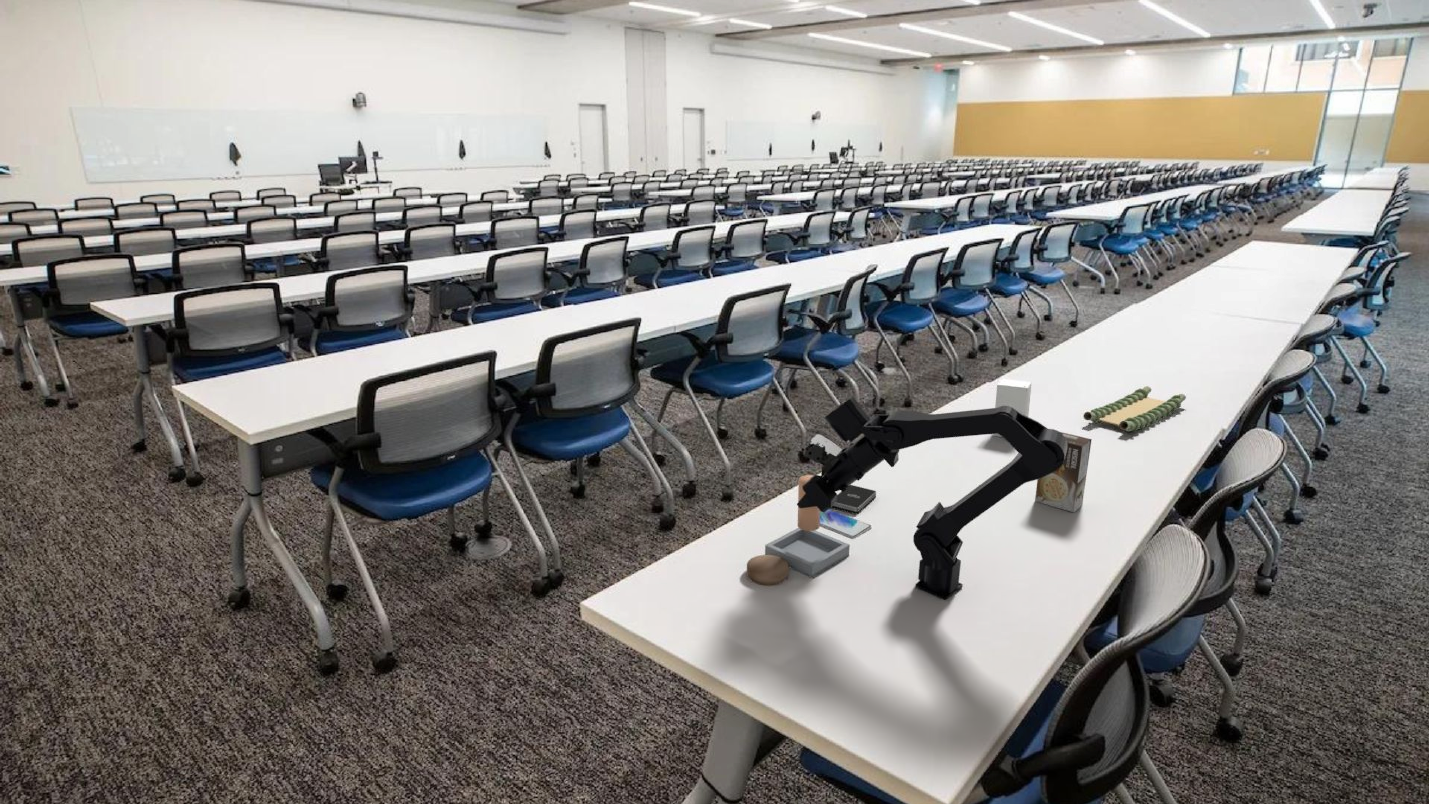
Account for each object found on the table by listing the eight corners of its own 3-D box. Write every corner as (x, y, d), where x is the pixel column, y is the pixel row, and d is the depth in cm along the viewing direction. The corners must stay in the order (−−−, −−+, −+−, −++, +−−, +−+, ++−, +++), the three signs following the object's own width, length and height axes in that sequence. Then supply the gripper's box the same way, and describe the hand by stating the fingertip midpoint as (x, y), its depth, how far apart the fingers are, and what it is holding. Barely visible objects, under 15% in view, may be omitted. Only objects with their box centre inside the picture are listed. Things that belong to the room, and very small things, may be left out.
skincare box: (1027, 434, 225) (1033, 382, 220) (1021, 441, 219) (1028, 388, 215) (996, 429, 229) (1002, 377, 224) (990, 436, 224) (996, 383, 219)
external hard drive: (876, 498, 186) (876, 491, 185) (857, 516, 177) (857, 508, 176) (849, 492, 189) (849, 484, 189) (829, 509, 181) (829, 501, 180)
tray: (849, 555, 160) (849, 544, 159) (812, 577, 152) (812, 566, 151) (802, 535, 168) (802, 525, 167) (765, 556, 160) (765, 545, 159)
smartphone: (854, 537, 166) (797, 515, 176) (853, 541, 167) (797, 518, 176) (873, 525, 171) (817, 504, 181) (872, 528, 171) (817, 507, 181)
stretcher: (1128, 440, 221) (1131, 423, 220) (1078, 426, 232) (1080, 410, 230) (1187, 409, 246) (1190, 394, 244) (1139, 398, 256) (1142, 383, 255)
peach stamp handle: (824, 527, 157) (825, 481, 153) (805, 532, 155) (806, 485, 152) (811, 519, 160) (813, 473, 157) (793, 523, 158) (794, 477, 155)
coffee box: (1083, 504, 182) (1094, 438, 177) (1073, 513, 177) (1083, 446, 172) (1043, 492, 188) (1052, 429, 183) (1033, 501, 183) (1041, 436, 178)
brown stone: (796, 574, 153) (796, 565, 152) (769, 590, 148) (769, 580, 147) (765, 559, 158) (765, 550, 158) (738, 574, 153) (738, 565, 152)
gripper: (847, 411, 157) (793, 454, 165) (814, 441, 141) (757, 487, 149) (883, 454, 156) (828, 495, 164) (855, 490, 140) (795, 533, 148)
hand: (802, 501), depth 157 cm, fingers closed on peach stamp handle, 4 cm apart
